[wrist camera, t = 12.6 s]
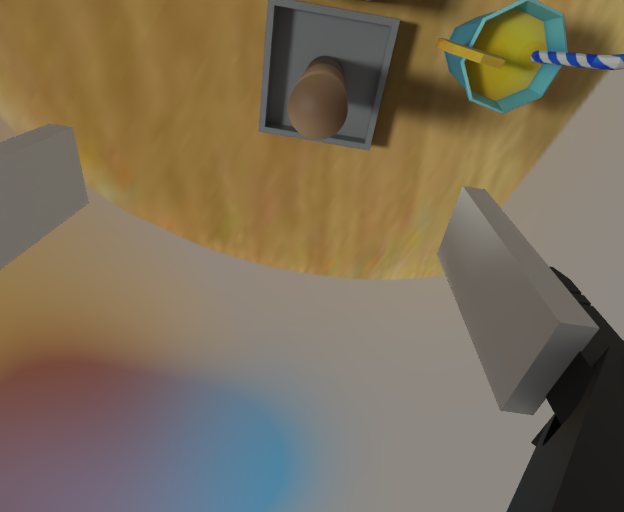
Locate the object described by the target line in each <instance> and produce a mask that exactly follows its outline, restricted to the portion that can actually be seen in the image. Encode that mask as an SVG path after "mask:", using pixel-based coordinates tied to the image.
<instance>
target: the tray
mask: <svg viewBox="0 0 624 512" xmlns="http://www.w3.org/2000/svg"><path fill="white" fill-rule="evenodd" d="M399 23H400V20H399V19H393V18H388V17H382V16H377V15H371V14H366V13H360V12H354V11H349V10H343V9H338V8H332V7H327V6H321V5H316V4H310V3H305V2H299V1H293V0H268V9H267V23H266V37H265V51H264V65H263V79H262V93H261V107H260V121H259V132H264V133H270V134H276V135H282V136H288V137H294V138H299V139H305V140H311V141H317V142H323V143H329V144H335V145H341V146H347V147H352V148H358V149H364V150H370V146H371V142H372V137H373V133H374V129H375V125H376V121H377V116H378V112H379V108H380V104H381V99H382V95H383V91H384V87H385V82H386V78H387V74H388V70H389V66H390V61H391V57H392V53H393V49H394V44H395V40H396V36H397V32H398V27H399ZM320 56H330V57H333V58H335V59H336V60H337V61H338V62H339V63H340V64H341V66H342V68H343V71H344V79H345V87H346V95H347V104H348V113H347V118H346V121H345V123H344V125H343V126H342V128H341V129H340V130H339V131H338V132H337V133H336V134H335V135H333V136H332V137H330V138H327V139H323V140H313V139H309V138H306V137H304V136H303V135H301V134H300V133H299V132H298V131H297V130H296V129H295V128H294V127H293V125H292V123H291V121H290V118H289V114H288V103H289V98H290V96H291V93H292V92H293V90H294V88H295V87H296V85H297V83H298V82H299V80H300V79H301V77H302V75H303V74H304V72H305V70H306V69H307V67H308V65H309V64H310V63H311V62H312V61H313V60H314V59H315V58H317V57H320Z"/></svg>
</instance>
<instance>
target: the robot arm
mask: <svg viewBox="0 0 624 512" xmlns="http://www.w3.org/2000/svg"><path fill="white" fill-rule="evenodd" d="M88 203H89V202H88V197H87V193H86V188H85V183H84V178H83V174H82V169H81V165H80V160H79V155H78V151H77V146H76V141H75V137H74V132H73V127H67V126H60V125H53V124H48V125H45V126H42V127H40V128H37V129H34V130H32V131H29V132H26V133H24V134H21V135H19V136H16V137H13V138H11V139H8V140H6V141H3V142H0V270H1V269H2V268H3V267H5V266H6V265H7V264H8V263H10V262H11V261H13V260H14V259H15V258H16V257H18V256H19V255H20V254H22V253H23V252H24V251H26V250H27V249H28V248H30V247H31V246H32V245H34V244H35V243H36V242H38V241H39V240H40V239H42V238H43V237H44V236H45V235H47V234H48V233H50V232H51V231H52V230H54V229H55V228H56V227H57V226H59V225H60V224H62V223H63V222H64V221H65V220H67V219H68V218H69V217H71V216H72V215H73V214H75V213H76V212H77V211H79V210H80V209H81V208H83V207H84V206H85V205H86V204H88ZM437 255H438V257H439V260H440V262H441V265H442V267H443V270H444V272H445V275H446V277H447V280H448V282H449V285H450V287H451V290H452V292H453V295H454V297H455V299H456V302H457V304H458V307H459V309H460V312H461V314H462V317H463V319H464V321H465V324H466V327H467V329H468V331H469V334H470V337H471V339H472V341H473V344H474V346H475V349H476V351H477V354H478V356H479V359H480V361H481V364H482V366H483V369H484V371H485V374H486V376H487V379H488V381H489V384H490V386H491V388H492V391H493V393H494V396H495V398H496V401H497V403H498V406H499V408H500V410H501V411H507V412H514V413H521V414H529V415H534V413H535V412H536V411H537V409H538V408H539V407H540V406H541V404H542V403H543V402H544V400H545V399H546V398H547V400H548V402H549V404H550V406H551V407H552V409H553V411H554V413H555V414H554V415H553V416H552V418H551V419H550V420H549V421H548V423H547V424H546V425H545V426H544V427H543V429H542V430H541V431H540V432H539V434H538V435H537V436H536V437H535V438H534V440H533V441H532V444H534V445H535V446H536V448H535V451H534V453H533V455H532V457H531V459H530V461H529V464H528V466H527V468H526V470H525V472H524V475H523V477H522V479H521V481H520V483H519V486H518V488H517V490H516V492H515V494H514V497H513V499H512V501H511V503H510V505H509V508H508V510H507V512H624V341H623V340H622V339H621V338H620V337H619V336H618V334H617V333H616V332H615V331H614V330H613V329H612V327H611V326H610V325H609V324H608V323H607V322H606V320H605V319H604V318H603V317H602V316H601V315H600V314H599V312H598V311H597V310H596V309H595V308H594V307H593V306H591V303H590V302H589V301H588V300H587V298H586V297H585V296H584V295H581V292H580V290H579V289H578V288H577V287H576V286H575V285H574V284H573V282H572V281H571V280H570V279H569V278H567V277H566V276H565V275H563V274H562V273H560V272H559V271H557V270H556V269H555V268H553V267H549V266H548V265H547V264H546V263H545V261H544V260H543V259H542V258H541V257H540V255H539V254H538V253H537V252H536V251H535V249H534V248H533V247H532V246H531V245H530V243H529V242H528V241H527V240H526V238H525V237H524V236H523V235H522V234H521V233H520V231H519V230H518V229H517V228H516V226H515V225H514V224H513V223H512V221H511V220H510V219H509V218H508V217H507V215H506V214H505V213H504V212H503V211H502V209H501V208H500V207H499V206H498V204H497V203H496V202H495V201H494V200H493V198H492V197H491V196H490V195H489V194H488V192H487V191H486V190H485V189H478V188H472V187H465V186H463V187H462V190H461V192H460V195H459V198H458V200H457V203H456V206H455V208H454V211H453V214H452V216H451V219H450V222H449V224H448V227H447V229H446V232H445V235H444V237H443V240H442V243H441V245H440V248H439V251H438V253H437Z"/></svg>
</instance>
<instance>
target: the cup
mask: <svg viewBox="0 0 624 512" xmlns="http://www.w3.org/2000/svg"><path fill="white" fill-rule="evenodd" d="M436 47H437V48H439V49H441V50H444V51H445V55H446V59H447V63H448V67H449V71H450V72H451V74H452V75H453V76H454V77H455V78H456V79H457V80H458V82H459V83H460V84H461V85H462V86H463V87H464V88H465V90H466V94H467V97H468V99H469V100H470V101H472V102H475V103H477V104H479V105H482V106H484V107H486V108H489V109H491V110H494V111H496V112H498V113H501V114H503V113H506V112H508V111H511V110H513V109H515V108H518V107H520V106H523V105H525V104H527V103H530V102H532V101H535V100H537V99H540V98H542V96H543V95H544V93H545V92H546V90H547V89H548V87H549V86H550V84H551V83H552V81H553V80H554V78H555V77H556V75H557V74H558V72H559V71H560V69H561V68H562V66H573V67H582V68H592V69H607V70H618V69H624V54H619V55H594V54H580V53H568V49H567V39H566V30H565V20H564V14H563V13H561V12H559V11H557V10H555V9H553V8H550V7H548V6H546V5H544V4H542V3H540V2H538V1H536V0H519V1H517V2H515V3H513V4H510V5H508V6H506V7H504V8H502V9H500V10H498V11H495V12H492V13H489V14H486V15H482V16H479V17H477V18H475V19H472V20H470V21H468V22H466V23H464V24H462V25H460V26H458V27H456V28H455V30H454V32H453V34H452V36H451V38H450V40H447V39H443V38H439V39H438V42H437V44H436Z"/></svg>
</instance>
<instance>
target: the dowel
mask: <svg viewBox="0 0 624 512" xmlns="http://www.w3.org/2000/svg"><path fill="white" fill-rule="evenodd" d="M347 113H348V104H347V95H346V87H345V79H344V71H343V68H342V66H341V64H340V63H339V62H338V61H337V60H336V59H335V58H333V57H330V56H320V57H317V58H315V59H314V60H313V61H312V62H311V63H310V64H309V65H308V67H307V69H306V70H305V72H304V74H303V75H302V77H301V79H300V80H299V82H298V83H297V85H296V87H295V88H294V90H293V92H292V93H291V96H290V98H289V103H288V114H289V118H290V121H291V123H292V125H293V127H294V128H295V129H296V130H297V131H298V132H299V133H300V134H301V135H303V136H304V137H306V138H309V139H313V140H323V139H327V138H330V137H332V136H333V135H335V134H336V133H337V132H338V131H339V130H340V129H341V128H342V126H343V125H344V123H345V121H346V118H347Z"/></svg>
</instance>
